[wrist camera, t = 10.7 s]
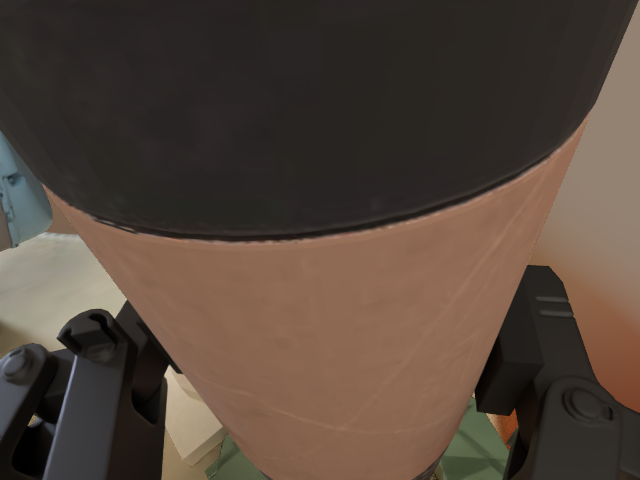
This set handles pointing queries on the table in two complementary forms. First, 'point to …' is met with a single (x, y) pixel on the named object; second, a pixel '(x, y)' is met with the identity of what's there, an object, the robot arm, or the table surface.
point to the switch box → (190, 420)
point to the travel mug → (311, 194)
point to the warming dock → (452, 471)
